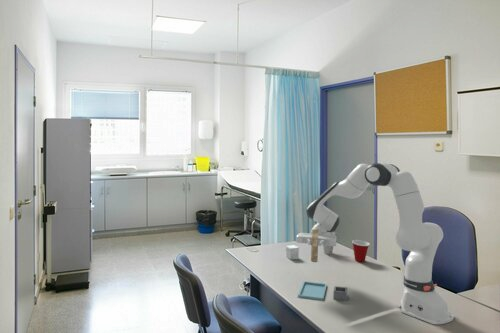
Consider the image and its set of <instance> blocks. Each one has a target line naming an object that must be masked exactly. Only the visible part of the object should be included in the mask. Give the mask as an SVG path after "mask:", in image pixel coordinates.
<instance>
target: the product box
mask: <svg viewBox="0 0 500 333" xmlns="http://www.w3.org/2000/svg"><path fill="white" fill-rule="evenodd" d="M285 249H286V250H285V252H286V253H285V257H286V258H287V259H288V260H298V259H299V256H300V255H299V254H300V251H299V249H300V248H299V246H297V245H295V244H293V245H291V244H290V245H286V247H285Z"/></svg>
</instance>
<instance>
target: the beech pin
mask: <svg viewBox="0 0 500 333" xmlns="http://www.w3.org/2000/svg"><path fill="white" fill-rule="evenodd" d="M311 230H312V243H311V245H310V246H311V247H310V248H311V252H310V253H311V255H310V256H311V257H310V262H312V263H318V258H319V257H318V256H319V246H318V230H319V229H312V228H311Z"/></svg>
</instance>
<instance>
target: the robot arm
mask: <svg viewBox="0 0 500 333" xmlns="http://www.w3.org/2000/svg"><path fill="white" fill-rule="evenodd" d="M370 185H372V186H375V187H389V188H391V190H392V193H393V197H394V200H395V204H396V207H397V210H398V215H399V217H398V218H399V227H398V230H397V232H396V235H395V241H396V244H397V246H398V247H399V248H400V249H402V250H403V251H407V252H409V254H408V256H407V257H406V259H405V262H404V263H405V264H404V265H405V267H404V268H405V269H404V271H405V272H404V275H403V290H402V291H403V293H402V297H401V300H400V303H399V304H400V305H399V307H400V312H401V313H402V314H406V315H408V316H410V317H413V318H415V319H419V320H422V321H424V322H427V323H429V324H432V325H445V324H448V323H450V322H452V321H454V314H453V313H451V312H449V307H448V303H447V301H446V300H445V299H444V298H443V296H441V295H440V294H439V293H438V292H437V290H436V287H437V285H438V284H437V283H435V284H434V280H432V278H433V277H432V273H433V263H434V258H435V256H436V252H437V249H438V247H439V244H440V243H441V242H442V240H443V238H444V231H443V228H442V227H441V226H440V225H438V224H436V223H434V222H427V221H426V222H423V213H424V211H425V205H424V202H423V199H422V196H421V192H420V189H419V187H418V184H417V182H416V179H415V178H414V176H413V175H412V173H411V172H410V171H407V170H406V171H405V170H400V169H399V167H397V165H394V164H391V163H385V162H374V163H371V164H367V163H359V164H358V165H356V167H354V169H352V171H351V172H349V174H348V175H347V177H346V178H345V179H343V180H341V181H336V182H334V183H333V184H331V185H330V186H329V187H328V188H326V190H324V192H322V193H321V194H319V196H318V197H317V198H316V199H315V200H314V201H312V202H311V203H310V204H309V205H308V206H307V208H306V210H305V211H306V215H307V218H309V219H311V220H313V221H314V222H316V223H315V224H314V225H313V226H312V228H311V230H310V232H309V233H308V232H307V233H306V232H299V233H298V234H296V236H295V242H296V243H298V244H307V245H308V246H311V243H312V229H319V230H318V247H321V246H323V245H327V246H333V247H336V246H337V241H336V240H337V238H336V237H337V234H336V235H335V233H336V232H335V231H336V230H337V228H338V226H339V224H340V222H341V220H340V216H339V214H337V213H336V212H334V211H333V210H331V209H330V208H328V207H327V206H325V205H324V203H325V202H326V201H328V200H329V199H330V198H331V197H333V196H339V197H343V198H346V199H356V198H359V197H361V196H362V194H363V193H364V192H365V191H366V190H367V189H368V187H369V186H370Z"/></svg>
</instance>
